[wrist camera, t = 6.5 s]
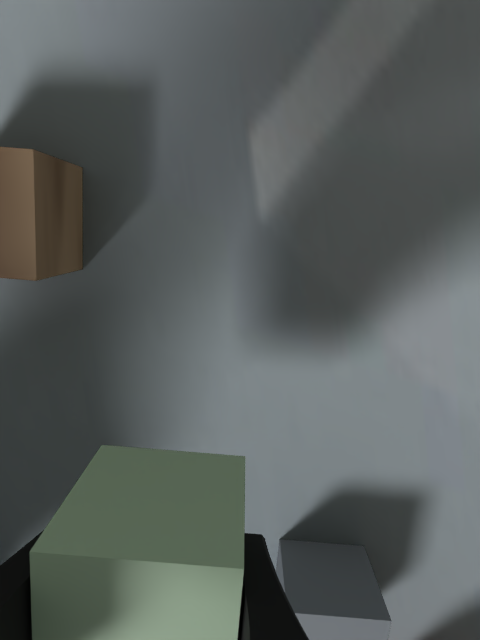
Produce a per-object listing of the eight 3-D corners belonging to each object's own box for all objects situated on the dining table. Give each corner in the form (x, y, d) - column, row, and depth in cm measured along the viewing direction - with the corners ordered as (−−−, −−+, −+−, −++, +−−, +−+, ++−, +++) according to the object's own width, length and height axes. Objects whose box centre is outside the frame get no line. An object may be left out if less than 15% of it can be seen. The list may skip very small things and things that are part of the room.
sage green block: (100, 567, 14) (34, 719, 10) (101, 445, 13) (29, 551, 9) (234, 578, 14) (228, 735, 10) (245, 456, 13) (244, 569, 9)
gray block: (271, 607, 24) (276, 694, 19) (279, 537, 23) (287, 612, 18) (352, 614, 24) (376, 703, 19) (363, 544, 23) (391, 621, 18)
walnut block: (-13, 261, 20) (-87, 270, 15) (-18, 159, 19) (-99, 139, 14) (83, 269, 20) (36, 280, 15) (83, 167, 19) (33, 149, 14)
